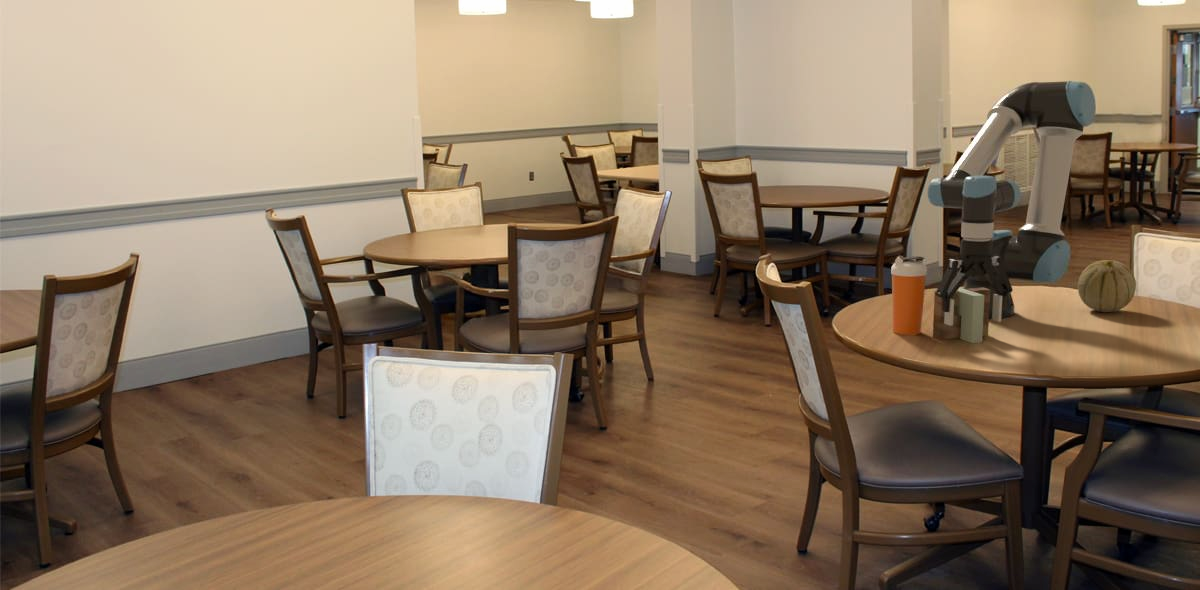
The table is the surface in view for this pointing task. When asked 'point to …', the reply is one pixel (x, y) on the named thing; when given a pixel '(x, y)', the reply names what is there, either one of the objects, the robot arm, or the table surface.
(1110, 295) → the cantaloupe
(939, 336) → the brown wooden slotted board
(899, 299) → the shaker bottle
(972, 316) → the slot plate
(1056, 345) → the table surface
